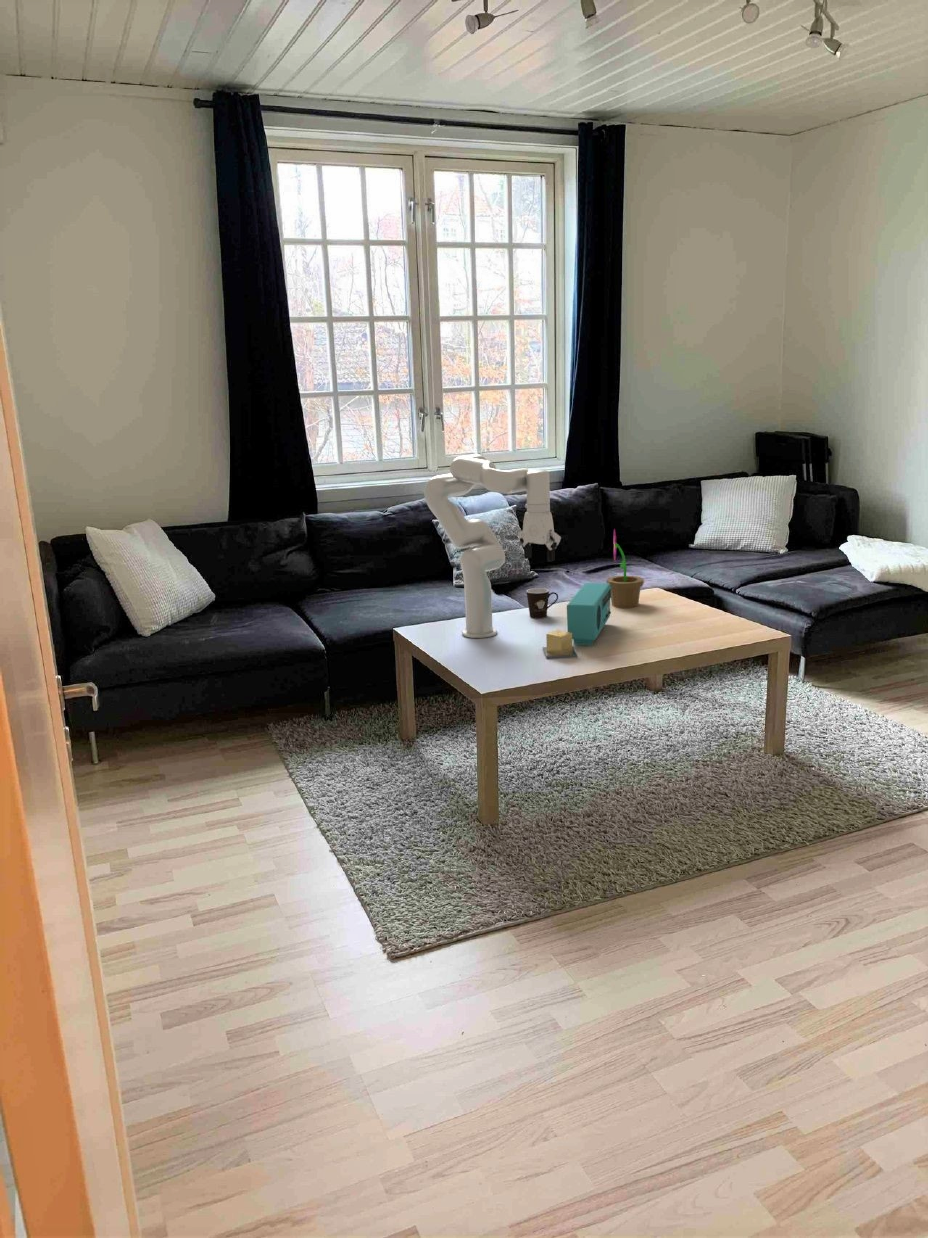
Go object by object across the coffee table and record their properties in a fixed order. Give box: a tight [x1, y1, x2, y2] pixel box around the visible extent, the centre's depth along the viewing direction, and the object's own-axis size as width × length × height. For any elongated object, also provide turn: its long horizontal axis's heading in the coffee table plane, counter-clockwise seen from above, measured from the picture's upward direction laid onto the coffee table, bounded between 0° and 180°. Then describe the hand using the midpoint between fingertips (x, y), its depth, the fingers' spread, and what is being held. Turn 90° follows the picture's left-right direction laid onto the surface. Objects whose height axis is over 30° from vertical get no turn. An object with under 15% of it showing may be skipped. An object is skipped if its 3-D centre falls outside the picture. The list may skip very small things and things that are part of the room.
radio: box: [566, 582, 612, 647], centre depth 334 cm, size 34×10×15 cm, turn 163°
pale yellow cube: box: [546, 629, 573, 654], centre depth 315 cm, size 6×6×6 cm
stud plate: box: [542, 645, 578, 660], centre depth 315 cm, size 10×10×5 cm
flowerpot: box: [606, 528, 645, 609], centre depth 371 cm, size 14×14×30 cm
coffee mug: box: [525, 587, 559, 619], centre depth 362 cm, size 12×9×10 cm
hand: (539, 559), depth 316 cm, fingers open, 9 cm apart
